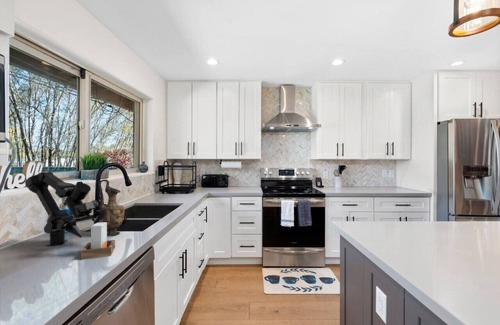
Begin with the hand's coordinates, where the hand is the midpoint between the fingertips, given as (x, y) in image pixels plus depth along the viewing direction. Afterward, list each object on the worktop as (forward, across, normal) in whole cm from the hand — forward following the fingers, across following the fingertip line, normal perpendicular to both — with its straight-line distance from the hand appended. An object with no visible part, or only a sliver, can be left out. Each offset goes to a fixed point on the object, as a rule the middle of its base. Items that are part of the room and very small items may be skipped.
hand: (92, 233), depth 106 cm
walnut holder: (+9, 0, +2) cm, 9 cm away
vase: (-5, +20, +16) cm, 27 cm away
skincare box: (+8, 0, +2) cm, 9 cm away
